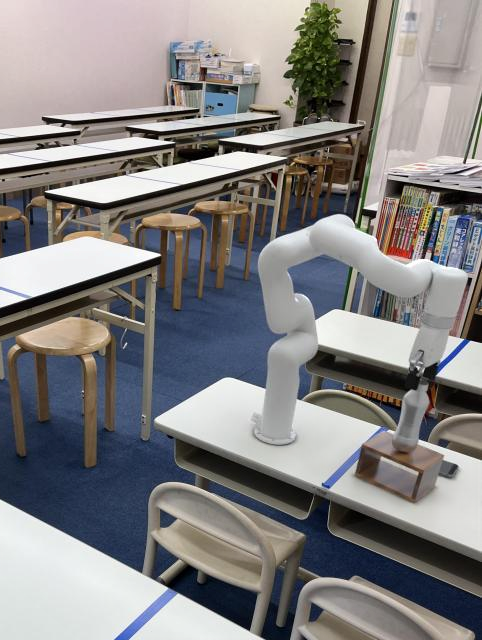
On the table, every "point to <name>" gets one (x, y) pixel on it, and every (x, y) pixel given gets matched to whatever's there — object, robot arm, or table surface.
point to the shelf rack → (394, 476)
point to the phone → (448, 469)
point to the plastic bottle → (411, 418)
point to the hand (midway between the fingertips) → (419, 383)
